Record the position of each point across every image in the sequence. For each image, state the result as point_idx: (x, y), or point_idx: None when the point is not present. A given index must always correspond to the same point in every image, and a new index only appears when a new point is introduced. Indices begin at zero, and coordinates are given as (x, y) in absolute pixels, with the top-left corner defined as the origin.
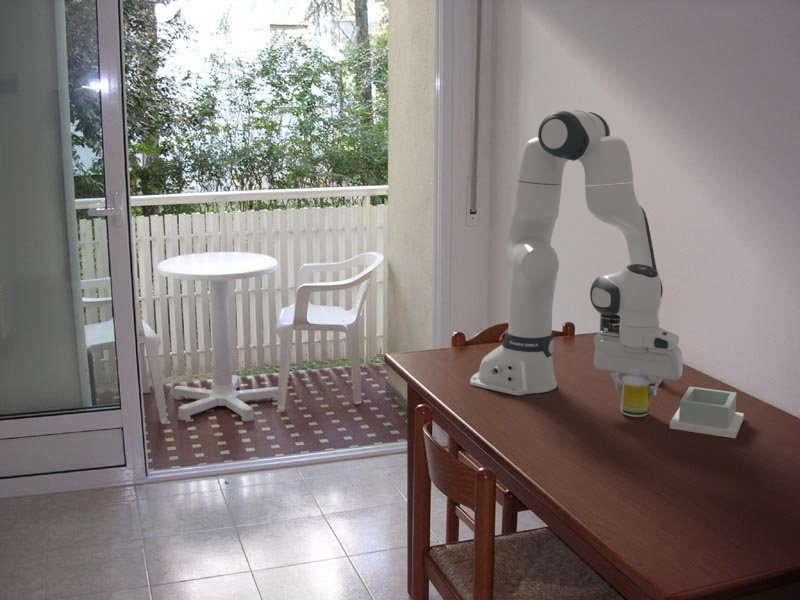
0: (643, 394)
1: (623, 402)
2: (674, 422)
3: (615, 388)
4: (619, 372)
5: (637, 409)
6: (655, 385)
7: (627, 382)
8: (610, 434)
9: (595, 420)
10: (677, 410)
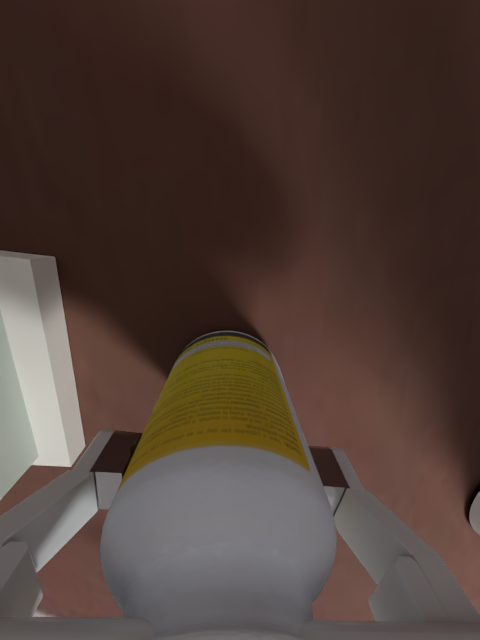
0: (162, 409)
1: (276, 372)
2: (7, 260)
3: (342, 451)
4: (410, 623)
5: (205, 345)
6: (46, 500)
7: (288, 478)
8: (305, 53)
9: (373, 252)
10: (59, 409)
